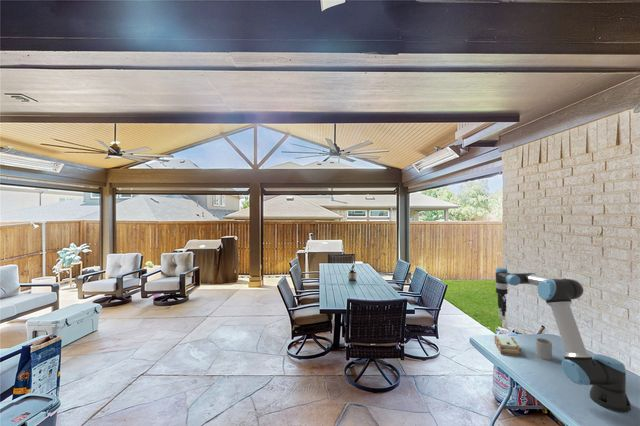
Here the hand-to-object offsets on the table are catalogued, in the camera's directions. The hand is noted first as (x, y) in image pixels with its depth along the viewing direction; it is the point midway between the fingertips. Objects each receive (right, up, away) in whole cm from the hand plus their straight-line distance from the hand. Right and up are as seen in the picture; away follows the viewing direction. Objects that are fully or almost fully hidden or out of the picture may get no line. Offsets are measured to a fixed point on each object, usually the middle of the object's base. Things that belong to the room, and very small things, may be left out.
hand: (502, 318), depth 213 cm
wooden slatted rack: (-3, -19, -11) cm, 22 cm away
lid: (-3, -15, -10) cm, 19 cm away
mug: (+16, -19, -19) cm, 31 cm away
